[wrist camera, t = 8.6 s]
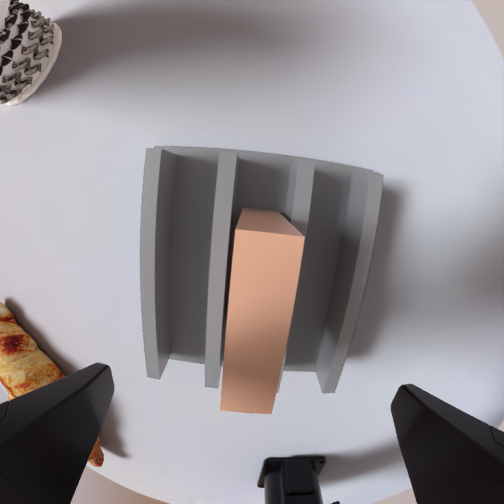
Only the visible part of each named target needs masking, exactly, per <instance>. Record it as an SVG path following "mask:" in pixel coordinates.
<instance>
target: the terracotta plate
mask: <svg viewBox="0 0 504 504" xmlns="http://www.w3.org/2000/svg"><path fill="white" fill-rule="evenodd" d="M304 239H305V236H303V235H302V234H301V233H300V232H299V231H298V230H297V229H296V228H295V227H294V226H293V225H292V224H291V223H290V222H289V221H288V220H287V219H286V218H285V217H283V216H282V215H281V214H280V213H279V212H277V211H269V210H260V209H251V208H243V209H242V212H241V215H240V218H239V220H238V223H237V226H236V229H235V238H234V249H233V259H232V269H231V280H230V291H229V303H228V314H227V326H226V338H225V351H224V364H223V377H222V391H221V405H220V410H223V411H233V412H245V413H260V414H271V413H272V409H273V405H274V400H275V396H276V392H277V387H278V383H279V378H280V373H281V369H282V364H283V359H284V354H285V349H286V344H287V339H288V334H289V329H290V323H291V318H292V312H293V307H294V301H295V296H296V290H297V284H298V278H299V272H300V265H301V259H302V253H303V246H304Z"/></svg>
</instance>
